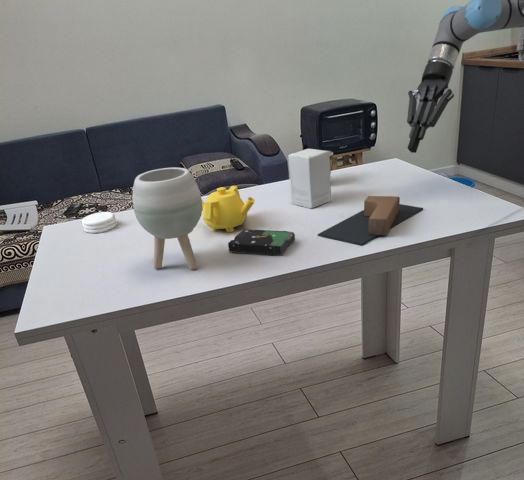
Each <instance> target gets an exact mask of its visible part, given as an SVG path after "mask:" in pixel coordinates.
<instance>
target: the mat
mask: <svg viewBox="0 0 524 480" xmlns="http://www.w3.org/2000/svg"><path fill="white" fill-rule="evenodd" d="M423 210H424V207H421V206H415V205H407V204H402V203H400V205H399V213H398V215H397V216H396V218H395V220H394V222H393V223H392V225H391V227H390V229H389V230H391V229H393V228H395V227H396V226H398V225H399V224H401V223H403V222H405V221H406V220H408V219H410V218H411V217H413V216H415V215H416V214H418V213H420V212H421V211H423ZM369 218H370V217H369V216H364V209H363V210H360V211H359V212H357V213H355V214H353V215H351V216H349V217H347V218H346V219H344V220H341V221H340V222H337V223H336V224H334V225H331V226H330V227H328V228H327V229H324V230H323V231H320V232H319V233H317V237H322V238H325V239H331V240H333V241H334V240H335V241H340V242H344V243H348V244H353V245H357V246H361V247H362V246H364V245H366V244H368V243H369V242H371V241H373V240H374V239H376V238H378V237H379V236H380V235H370V234H369Z"/></svg>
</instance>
